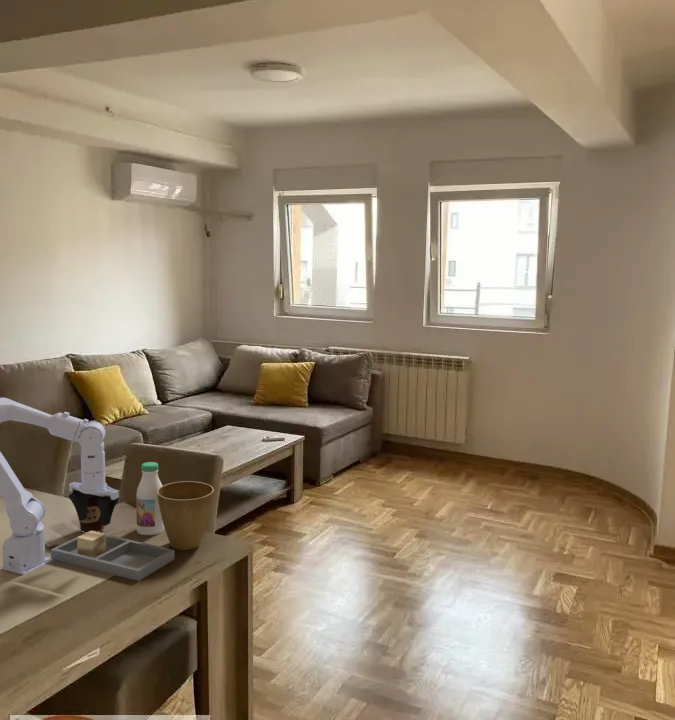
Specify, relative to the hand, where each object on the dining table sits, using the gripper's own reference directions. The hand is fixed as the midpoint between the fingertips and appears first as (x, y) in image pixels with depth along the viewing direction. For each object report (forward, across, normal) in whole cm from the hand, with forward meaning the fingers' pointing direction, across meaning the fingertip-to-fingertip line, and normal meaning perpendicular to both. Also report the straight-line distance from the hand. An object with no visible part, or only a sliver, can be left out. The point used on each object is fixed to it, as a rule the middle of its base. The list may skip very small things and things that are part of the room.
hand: (94, 521), depth 178 cm
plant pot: (+11, -15, -18) cm, 26 cm away
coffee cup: (+11, +15, -15) cm, 24 cm away
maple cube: (+10, +3, -2) cm, 11 cm away
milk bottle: (+11, 0, -22) cm, 24 cm away
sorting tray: (+10, -4, -2) cm, 11 cm away
